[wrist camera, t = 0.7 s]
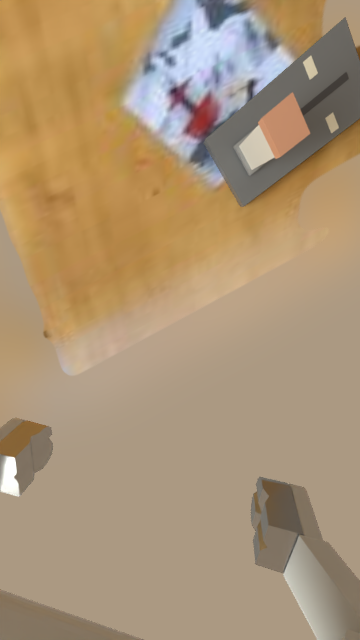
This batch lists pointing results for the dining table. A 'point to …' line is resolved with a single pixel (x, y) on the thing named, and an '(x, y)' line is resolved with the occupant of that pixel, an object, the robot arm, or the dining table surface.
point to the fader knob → (273, 135)
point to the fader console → (314, 102)
